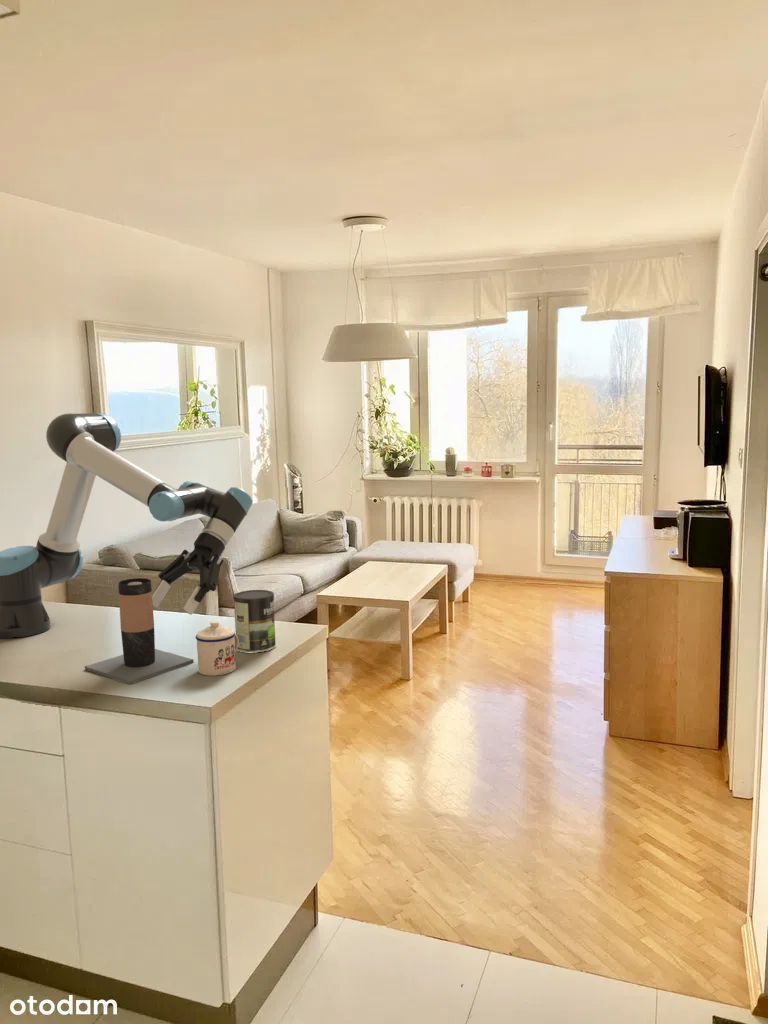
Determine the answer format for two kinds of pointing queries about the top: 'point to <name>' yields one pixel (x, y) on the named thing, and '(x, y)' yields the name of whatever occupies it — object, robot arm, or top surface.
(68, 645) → the top surface
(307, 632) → the top surface
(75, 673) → the top surface
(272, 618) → the coffee can
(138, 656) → the travel mug
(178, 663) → the pad
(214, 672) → the teacup with lid
